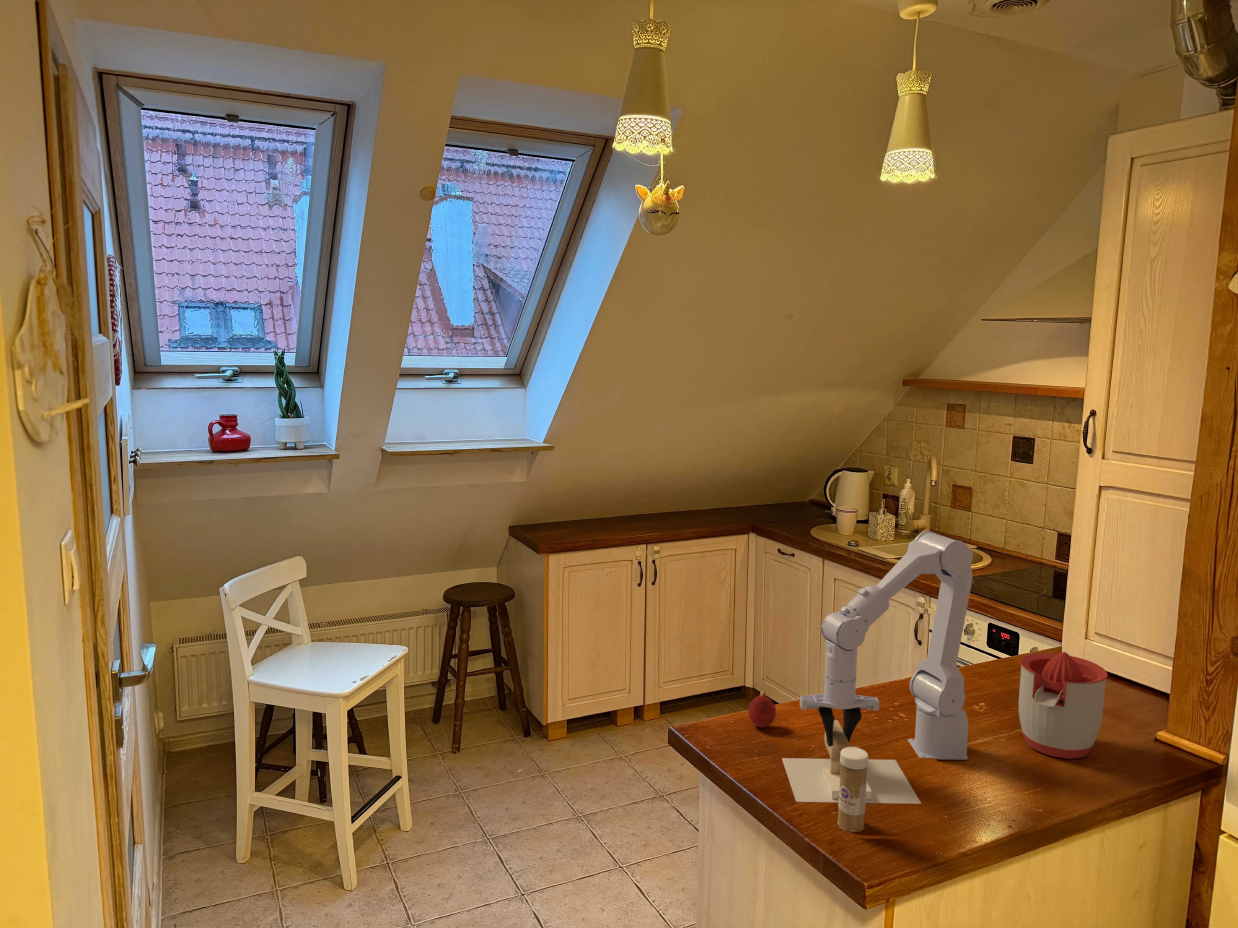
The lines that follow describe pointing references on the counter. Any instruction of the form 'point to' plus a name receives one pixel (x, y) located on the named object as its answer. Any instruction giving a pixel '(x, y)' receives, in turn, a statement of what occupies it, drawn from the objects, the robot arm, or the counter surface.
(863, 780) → the sprinkles bottle
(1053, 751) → the citrus juicer
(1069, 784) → the counter surface
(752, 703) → the onion
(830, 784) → the tile
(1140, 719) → the counter surface
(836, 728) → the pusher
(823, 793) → the mat
